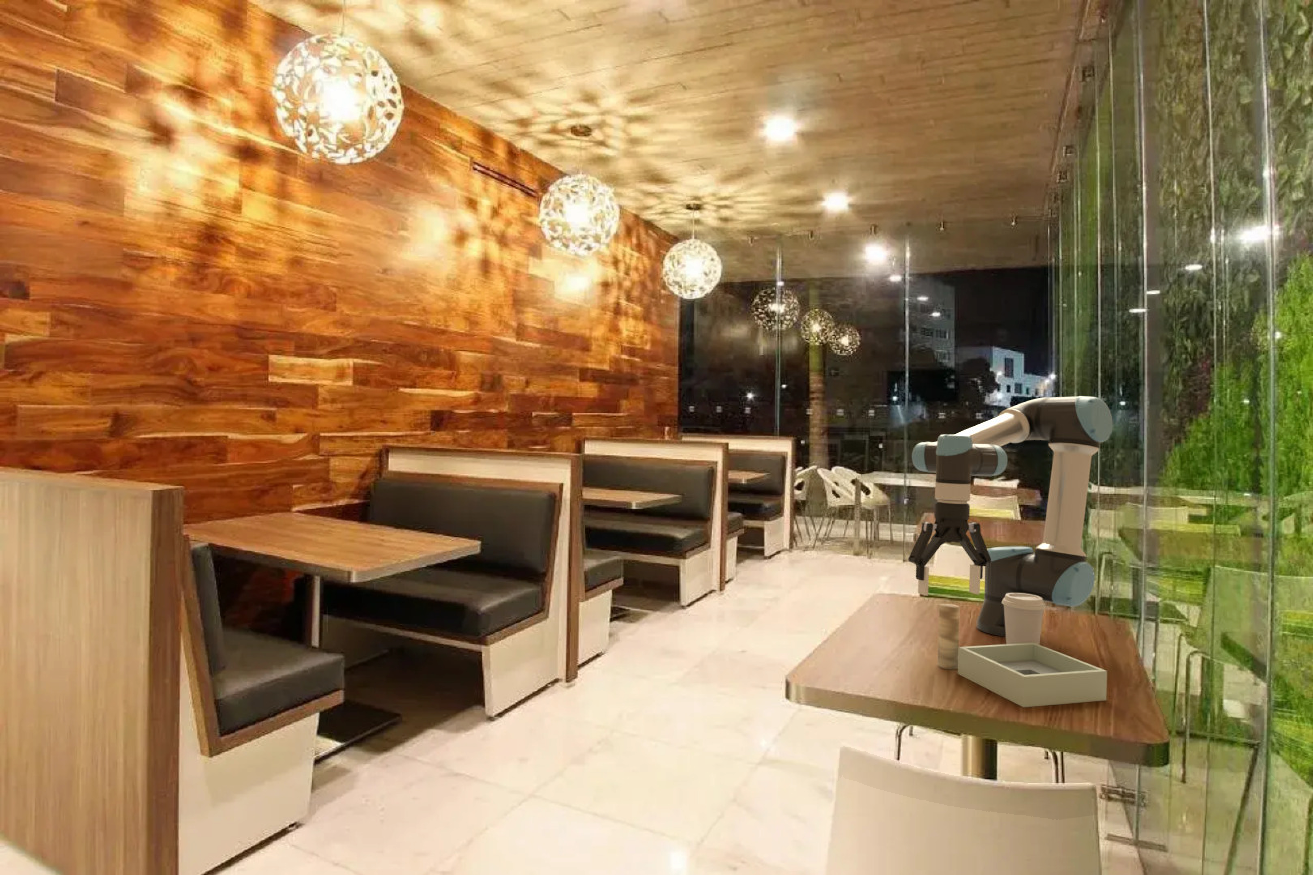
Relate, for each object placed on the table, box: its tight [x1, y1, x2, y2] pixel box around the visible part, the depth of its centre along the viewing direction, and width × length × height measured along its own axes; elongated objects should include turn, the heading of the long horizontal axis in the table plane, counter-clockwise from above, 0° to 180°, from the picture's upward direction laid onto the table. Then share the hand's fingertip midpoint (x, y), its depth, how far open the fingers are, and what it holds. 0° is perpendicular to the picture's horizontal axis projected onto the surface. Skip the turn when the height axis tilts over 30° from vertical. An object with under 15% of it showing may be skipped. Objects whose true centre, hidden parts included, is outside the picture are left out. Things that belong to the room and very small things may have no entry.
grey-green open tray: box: [957, 643, 1108, 708], centre depth 157 cm, size 20×20×6 cm
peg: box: [937, 603, 961, 671], centre depth 169 cm, size 4×4×14 cm
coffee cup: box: [1002, 593, 1047, 645], centre depth 176 cm, size 10×10×15 cm
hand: (948, 593), depth 169 cm, fingers open, 13 cm apart
